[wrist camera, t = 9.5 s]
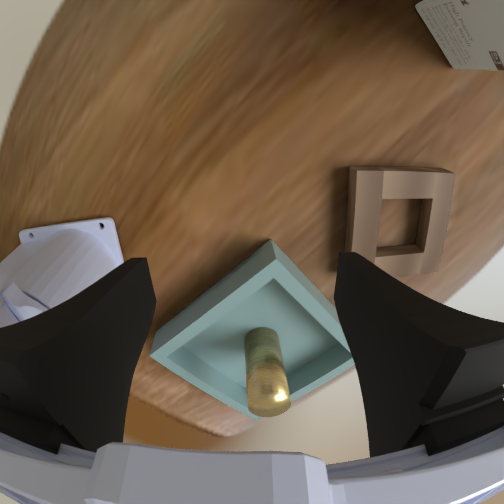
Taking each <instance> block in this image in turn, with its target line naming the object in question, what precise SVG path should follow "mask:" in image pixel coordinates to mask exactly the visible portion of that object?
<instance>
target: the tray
mask: <svg viewBox="0 0 504 504" xmlns="http://www.w3.org/2000/svg"><path fill="white" fill-rule="evenodd" d="M258 327H267V328H271V329H273V330H275V331H276V332H277V334H278V336H279V340H280V346H281V351H282V356H283V362H284V367H285V373H286V378H287V384H288V389H289V395H290V400H291V402H292V401H293V400H295V399H297V398H299V397H301V396H303V395H304V394H306V393H308V392H310V391H312V390H313V389H315V388H317V387H319V386H320V385H322V384H324V383H325V382H327V381H329V380H330V379H332V378H334V377H335V376H337V375H339V374H340V373H342V372H344V371H345V370H347V369H348V368H350V367H351V366H353V365H355V363H354V360H353V358H352V355H351V352H350V349H349V347H348V344H347V341H346V338H345V336H344V333H343V330H342V327H341V325H340V322H339V319H338V315H337V311H336V308H335V307H334V306H333V305H332V304H331V303H330V302H329V301H328V299H327V298H326V297H325V296H324V295H323V294H322V293H321V292H320V291H319V290H318V289H317V288H316V287H315V285H314V284H313V283H312V282H311V281H310V280H309V279H308V278H307V277H306V276H305V275H304V274H303V273H302V271H301V270H300V269H299V268H298V267H297V266H296V265H295V264H294V263H293V262H292V261H291V260H290V259H289V258H288V257H287V255H286V254H285V253H284V252H283V251H282V250H281V249H280V248H279V247H278V246H277V245H276V244H275V243H274V242H273V241H272V240H271V239H270V240H269V241H268V242H267V243H265V244H264V245H263V246H262V247H260V248H259V249H258V250H257V251H255V252H254V253H253V254H252V255H250V256H249V257H248V258H247V259H245V260H244V261H243V262H242V263H241V264H239V265H238V266H237V267H236V268H234V269H233V270H232V271H231V272H229V273H228V274H227V275H226V276H224V277H223V278H222V279H221V280H219V281H218V282H217V283H216V284H214V285H213V286H212V287H211V288H209V289H208V290H207V291H206V292H205V293H203V294H202V295H201V296H200V297H198V298H197V299H196V300H195V301H193V302H192V303H191V304H190V305H188V306H187V307H186V308H185V309H183V310H182V311H181V312H180V313H178V314H177V315H176V316H175V317H173V318H172V319H171V320H170V321H168V322H167V323H166V324H165V325H163V326H162V327H161V328H160V329H159V330H157V331H156V332H155V336H154V340H153V343H152V347H151V351H150V355H149V356H150V357H152V358H153V359H155V360H156V361H158V362H159V363H160V364H162V365H163V366H165V367H166V368H168V369H169V370H171V371H172V372H174V373H176V374H177V375H179V376H180V377H182V378H183V379H185V380H186V381H188V382H190V383H191V384H193V385H194V386H196V387H198V388H199V389H201V390H203V391H204V392H206V393H208V394H209V395H211V396H213V397H214V398H216V399H218V400H220V401H221V402H223V403H225V404H227V405H228V406H230V407H232V408H234V409H236V410H237V411H239V412H241V413H243V414H245V415H247V416H249V417H251V418H252V419H254V420H256V419H258V418H260V416H256V415H254V414H252V413H251V412H250V411H249V410H248V401H247V385H246V368H245V350H244V338H245V336H246V334H247V333H248V332H249V331H251V330H252V329H255V328H258Z"/></svg>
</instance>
